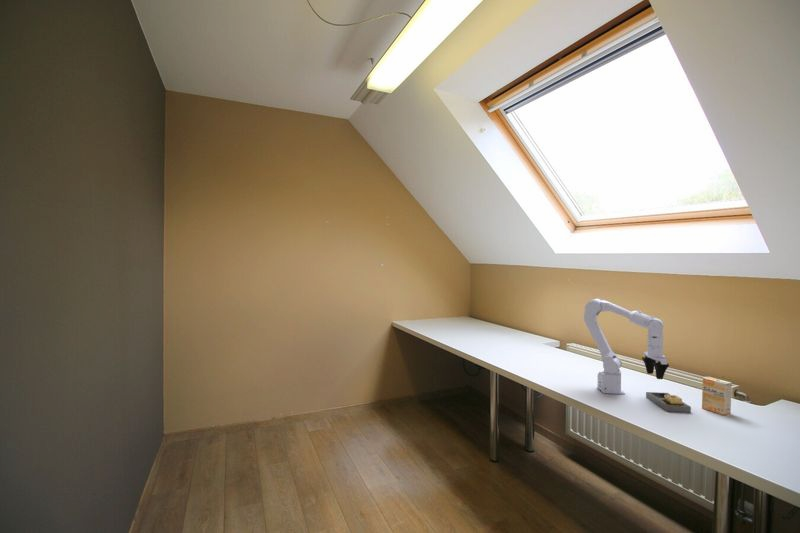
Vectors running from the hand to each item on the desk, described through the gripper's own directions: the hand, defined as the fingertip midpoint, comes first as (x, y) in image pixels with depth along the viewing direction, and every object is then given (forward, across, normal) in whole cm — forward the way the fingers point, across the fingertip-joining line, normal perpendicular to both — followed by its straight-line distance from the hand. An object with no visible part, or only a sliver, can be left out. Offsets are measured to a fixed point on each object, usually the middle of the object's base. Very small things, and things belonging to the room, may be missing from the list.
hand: (654, 376), depth 168 cm
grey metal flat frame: (+10, -6, -2) cm, 12 cm away
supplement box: (+11, -11, -18) cm, 24 cm away
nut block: (+10, -10, -2) cm, 15 cm away
